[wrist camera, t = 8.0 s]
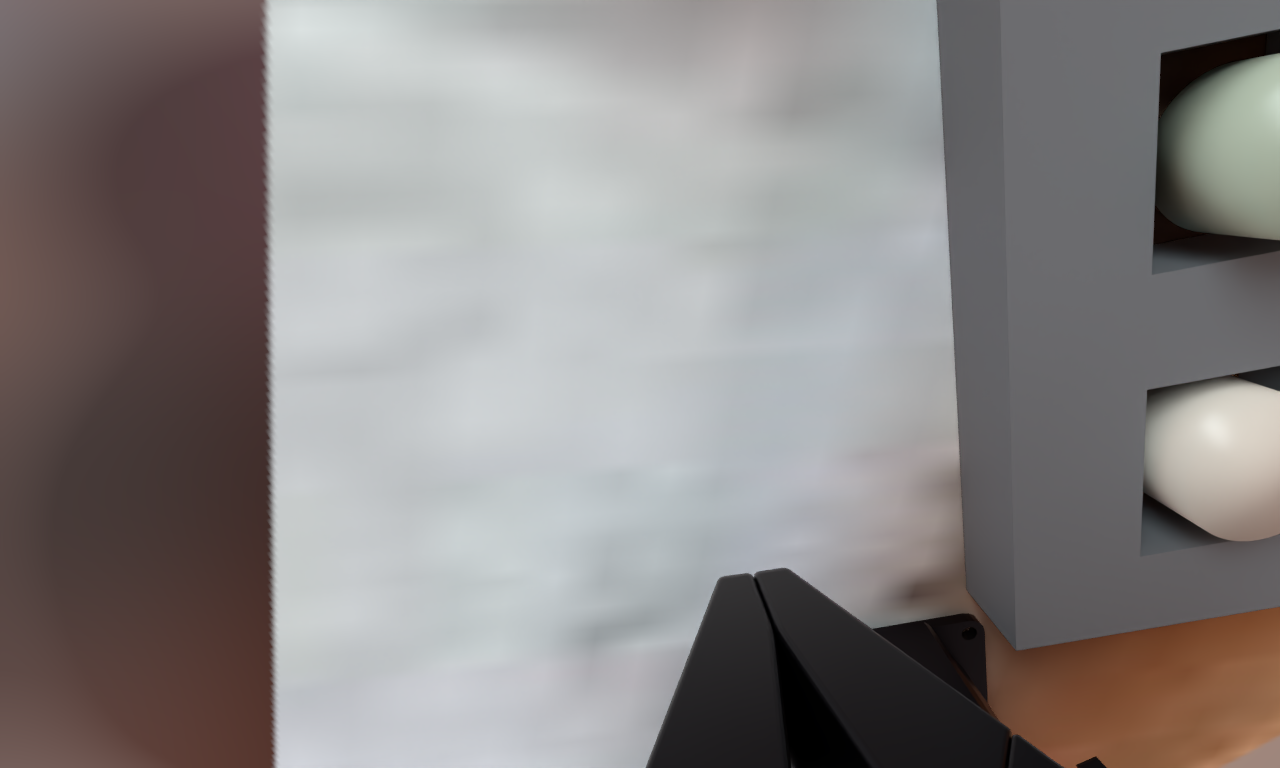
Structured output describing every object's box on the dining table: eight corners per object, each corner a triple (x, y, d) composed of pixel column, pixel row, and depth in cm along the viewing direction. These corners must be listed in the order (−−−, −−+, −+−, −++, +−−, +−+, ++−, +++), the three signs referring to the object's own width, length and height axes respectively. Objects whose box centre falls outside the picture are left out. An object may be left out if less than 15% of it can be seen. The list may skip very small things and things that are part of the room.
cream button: (1236, 477, 20) (1335, 526, 18) (1104, 500, 21) (1181, 553, 18) (1246, 353, 19) (1355, 384, 16) (1106, 379, 19) (1189, 414, 17)
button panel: (1332, 527, 22) (1438, 580, 19) (966, 590, 22) (1016, 650, 20) (1481, -541, 14) (1697, -722, 11) (916, -410, 15) (986, -551, 12)
